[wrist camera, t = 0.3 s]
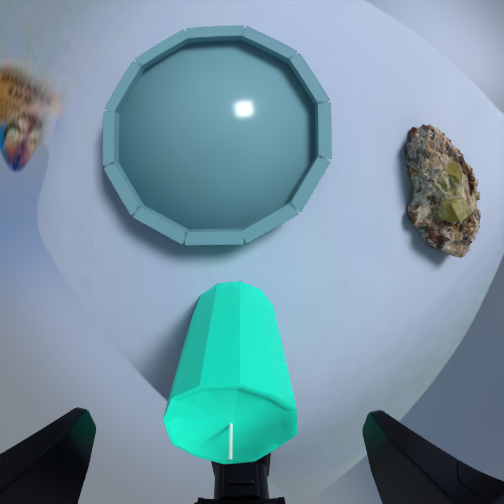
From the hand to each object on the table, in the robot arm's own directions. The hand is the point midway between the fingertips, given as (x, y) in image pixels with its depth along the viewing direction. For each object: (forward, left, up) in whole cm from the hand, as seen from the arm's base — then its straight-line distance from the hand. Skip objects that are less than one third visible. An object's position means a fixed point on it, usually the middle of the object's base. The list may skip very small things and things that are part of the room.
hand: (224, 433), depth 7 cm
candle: (-3, 0, -13) cm, 14 cm away
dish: (+10, +1, -13) cm, 16 cm away
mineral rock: (+7, -16, -14) cm, 22 cm away
